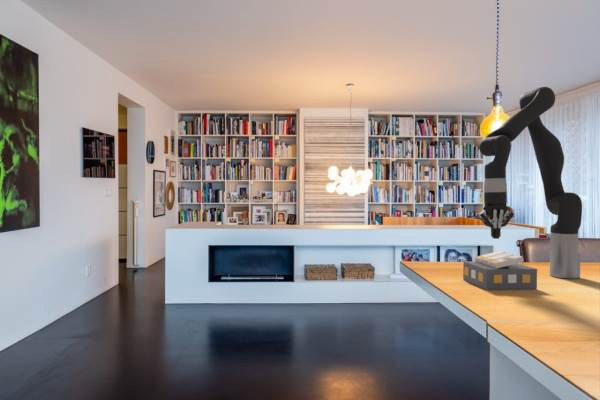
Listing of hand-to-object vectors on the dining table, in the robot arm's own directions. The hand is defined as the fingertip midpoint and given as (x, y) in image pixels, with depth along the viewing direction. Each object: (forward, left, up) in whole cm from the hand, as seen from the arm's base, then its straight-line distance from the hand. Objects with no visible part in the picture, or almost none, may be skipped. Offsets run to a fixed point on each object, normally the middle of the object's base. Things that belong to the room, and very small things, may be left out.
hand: (495, 238), depth 147 cm
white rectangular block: (0, -2, -8) cm, 8 cm away
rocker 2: (0, +8, -8) cm, 11 cm away
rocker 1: (0, +3, -8) cm, 8 cm away
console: (0, +3, -16) cm, 17 cm away
